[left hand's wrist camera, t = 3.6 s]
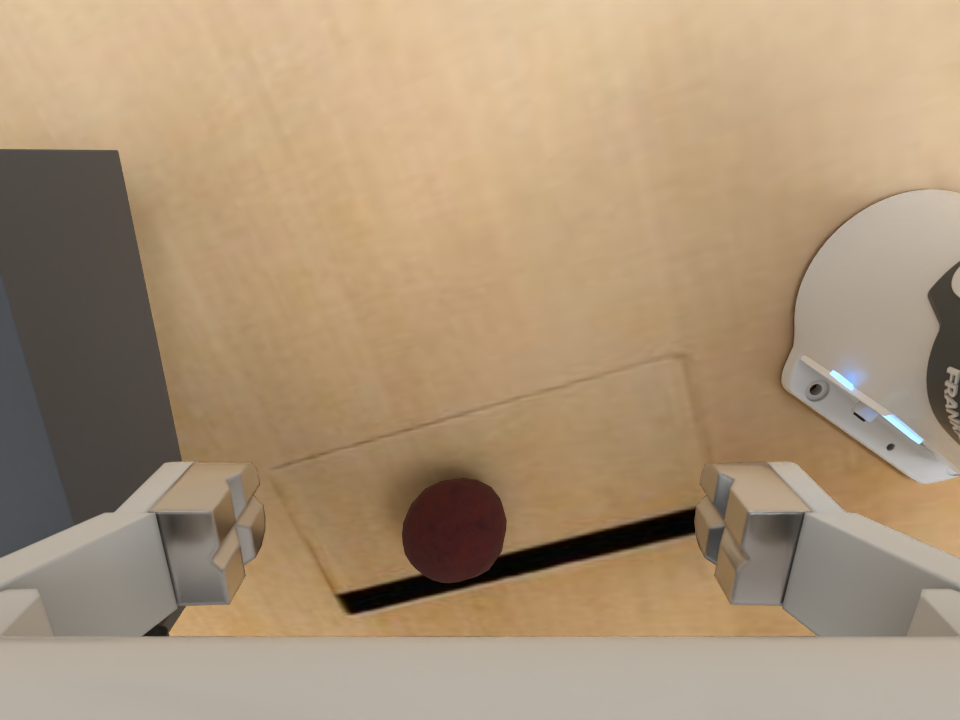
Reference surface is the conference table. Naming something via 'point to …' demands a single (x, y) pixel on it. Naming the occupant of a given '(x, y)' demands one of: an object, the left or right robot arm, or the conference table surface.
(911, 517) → the conference table surface
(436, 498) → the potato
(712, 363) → the conference table surface
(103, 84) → the conference table surface
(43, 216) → the bar
